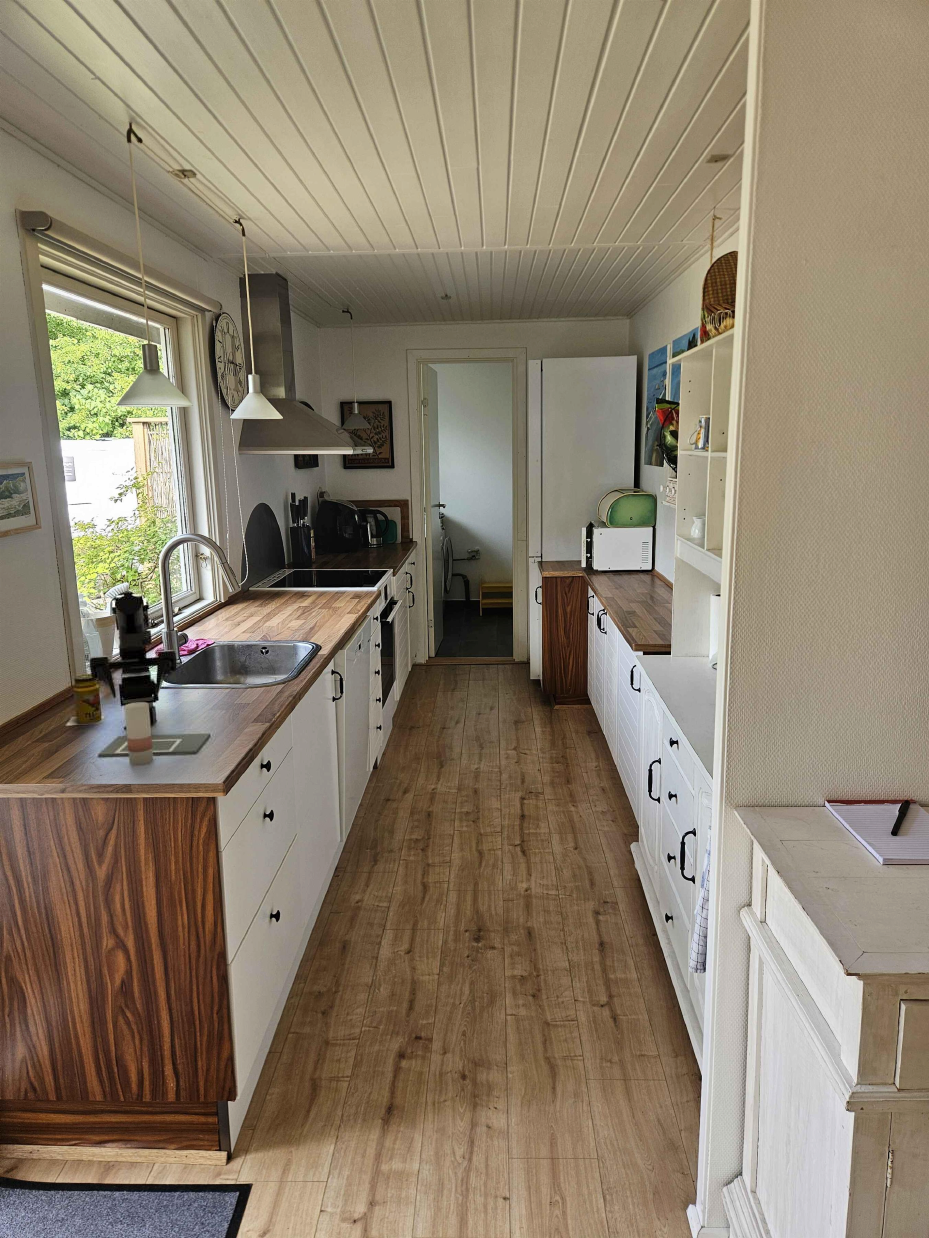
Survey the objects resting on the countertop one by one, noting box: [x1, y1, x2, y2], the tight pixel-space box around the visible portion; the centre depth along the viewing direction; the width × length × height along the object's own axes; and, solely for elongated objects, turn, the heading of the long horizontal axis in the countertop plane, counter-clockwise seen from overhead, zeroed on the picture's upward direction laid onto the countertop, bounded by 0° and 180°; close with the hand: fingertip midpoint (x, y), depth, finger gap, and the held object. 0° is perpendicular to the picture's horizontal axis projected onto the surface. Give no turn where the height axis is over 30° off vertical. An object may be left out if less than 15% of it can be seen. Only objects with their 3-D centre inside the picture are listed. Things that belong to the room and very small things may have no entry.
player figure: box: [123, 702, 154, 766], centre depth 186 cm, size 5×5×13 cm
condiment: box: [65, 673, 106, 727], centre depth 217 cm, size 7×8×12 cm
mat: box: [97, 733, 211, 758], centre depth 197 cm, size 22×13×1 cm, turn 93°
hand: (136, 694), depth 191 cm, fingers open, 9 cm apart
